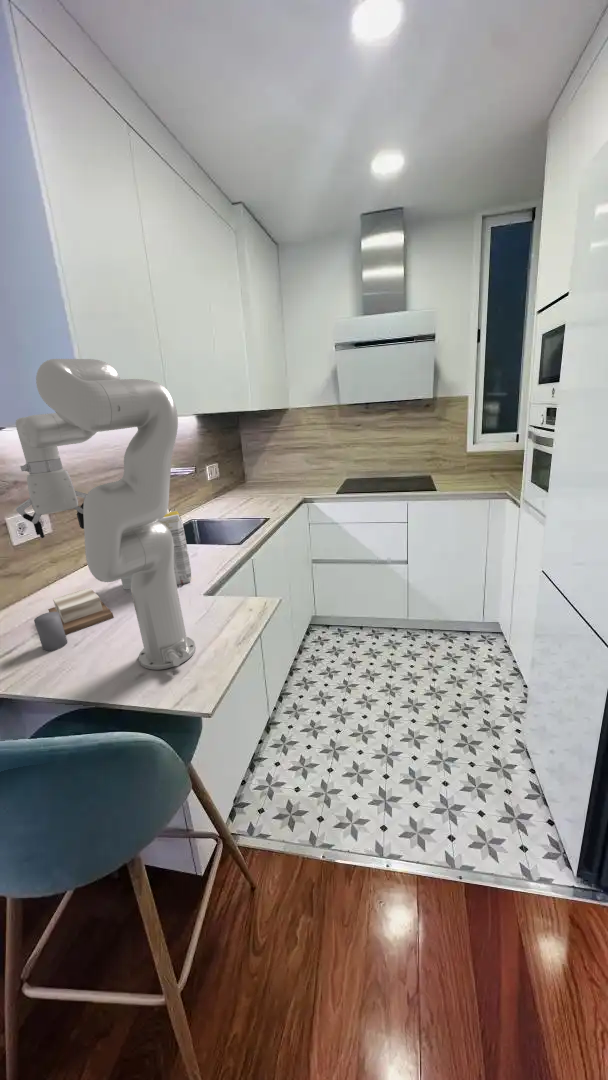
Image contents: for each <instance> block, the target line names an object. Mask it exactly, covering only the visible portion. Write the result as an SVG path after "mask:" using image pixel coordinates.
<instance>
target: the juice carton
mask: <svg viewBox="0 0 608 1080" xmlns="http://www.w3.org/2000/svg"><path fill="white" fill-rule="evenodd" d="M157 522H160V523H162V524H164V525H165V526H166V527H167V528H168V529H169V530H170V532H171V534H172V537H173V543H174V572H175V578H176V584H177V586H178V585H183V584H189V583H191V581H192V579H191V578H192V567H191V561H190V557H189V556H190V555H189V551H188V545H187V540H186V539H187V538H186V534H185V528H184V523H183V520H182V517H181V515H180V513H179V511H178V510H173V511H169V509H168V510H167V513H166V515H165V516H164V517H163V518H162V519H160V520H158V521H157Z"/></svg>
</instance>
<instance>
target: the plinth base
mask: <svg viewBox="0 0 608 1080" xmlns="http://www.w3.org/2000/svg"><path fill="white" fill-rule="evenodd" d="M52 601H53V603H54V606H53V607H50V608H48V609H47V610H48V612H58V613H59V614H60V618H61V621H62V625H63V628H64V632H65V635H68V634H72V633H75V632H77V631H81V630H82V629H86V628H88V627H91V626H95V625H97V624H99V623H103V622H105V621H109V620H111V619H114V614H113V612H112V611H111V610H110V608H108V606H106V604H105V603H104V602H103V601H102V600H101V598H100V596H99V595H98V594H97V593H96V592H95V591H94V589H92V588H91V587H87V588H84V589H81V590H78V591H74V592H72V593H68V594H64V595H61V596H59V597H55V598H53V599H52Z"/></svg>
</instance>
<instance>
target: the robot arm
mask: <svg viewBox="0 0 608 1080" xmlns="http://www.w3.org/2000/svg"><path fill="white" fill-rule="evenodd" d="M35 382H36V383H35V384H36V388H37V391H38V394H39V396H40V398H41V399H42V401H43V402H44V403H45V404H46V405H47V406H48V407H50V408H51V409H52V410H53V411H54V412H52V413H43V414H32V415H28V416H25V417H24V416H23V417H19V418H17V419H16V420H15V429H16V431H17V435H18V440H19V442H20V445H21V449H22V452H23V456H24V459H25V464H23V465H20V471H21V472H28V475H26V483H27V490H28V495H29V498H28V499H27V500H25V501H24V502H22V503H21V504H19V505H18V506H17V507H16V508H15V511H16V512H17V513H18V514H19V515H20V516H21V517H22V518H23V519H24V520H26V521H29V522H30V523H32V524H33V526H34V530H35V534H36V535H37V536H40V538H41V539H43V538H45V533H44V530H43V526H42V523H41V522H40V521H39V520H40V519H41V517H42V516H45V515H50V514H55V513H61V512H65V511H66V512H67V511H70V510H75V511H76V517H77V520H78V526H79V528H80V529H83V531H84V551H85V560H86V563H87V567H88V569H89V571H90V574H91V575H92V576H93V577H94V578H95V580H98V581H100V582H103V583H112V582H116V581H119V580H121V579H122V578H125V577H127V576H130V575H132V574H133V578H132V582H131V589H130V591H131V597H132V603H133V606H134V612H135V615H136V618H137V619H136V620H137V624H138V628H139V629H138V630H139V632H140V636H141V642H142V644H143V648H142V650H141V651H140V652H139V655H138V662H139V664H140V666H142V668H145V669H149V670H165V669H169V668H170V669H171V668H173V667H178V666H180V665H181V664H183V663H184V662H186V661H188V660H189V659H190V658H191V657H192V656H193V655H194V654H195V652H196V643H195V641H194V640H193V638H191V637H188V636H187V633H186V628H185V627H186V626H185V621H184V617H183V612H182V607H181V606H182V605H181V601H180V597H179V596H180V595H179V589H178V585H177V584H176V578H175V572H174V543H173V537H172V534H171V532H170V530H169V529H168V528H167V527H166V526H165V525H164V524H162V523H160V522H157V521H158V520H160V519H162V518H163V517H164V516H165V515H166V513H167V510H169V502H170V486H171V472H172V471H171V469H172V458H173V453H174V447H175V443H176V440H177V435H178V434H177V433H178V427H179V426H178V425H179V417H178V411H177V406H176V403H175V401H174V399H173V397H172V395H171V394H170V392H169V390H168V389H167V388H166V387H165V386H164V385H162V384H160V383H159V382H157V381H154V380H149V379H143V378H142V379H139V378H124V379H123V378H122V379H121V378H120V375H119V373H118V371H117V370H116V369H115V368H114V367H113V366H112V365H110V364H109V363H108V362H105V361H103V360H99V359H94V358H51V359H48V360H45V361H44V362H42V364H40V366H39V367H38V369H37V372H36V376H35ZM130 428H131V429H133V428H137V431H136V433H135V434H134V436H133V437H132V438H131V440H130V441H129V443H128V445H127V447H126V450H125V451H124V456H123V474H122V477H121V478H120V479H119V480H116V481H112V482H108V483H104V484H100V485H97V486H94V487H92V489H90V490H89V491H88V493H86V492H81V491H78V490H75V487H74V484H73V480H72V479H71V478H72V477H71V476H70V473H69V472H68V470H67V469H64V468H63V465H62V460H61V457H60V453H59V449H58V447H59V446H60V447H61V446H68V445H78V444H82V443H84V442H87V441H89V440H90V439H91V438H92V437H94V436H95V435H96V434H97V433H102V432H108V431H109V432H110V431H115V430H117V431H118V430H124V429H130ZM78 497H79V498H82V499H83V502H82V504H81V505H80V506H79V500H78ZM30 506H31V507H32V509H33V511H34V513H33V515H31V514H29V513H27V511H25V509H27V508H28V507H30Z"/></svg>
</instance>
